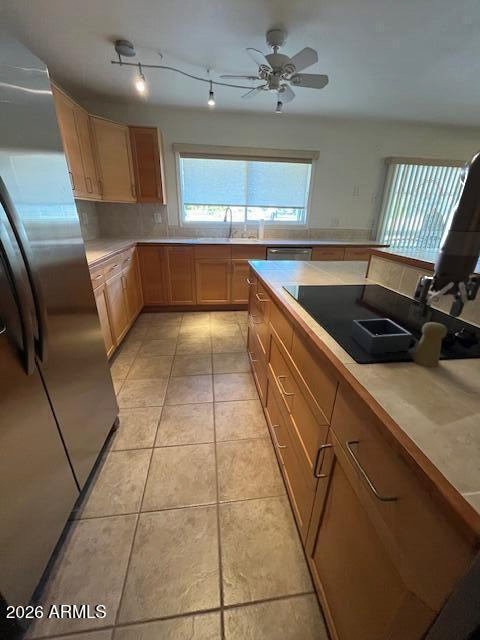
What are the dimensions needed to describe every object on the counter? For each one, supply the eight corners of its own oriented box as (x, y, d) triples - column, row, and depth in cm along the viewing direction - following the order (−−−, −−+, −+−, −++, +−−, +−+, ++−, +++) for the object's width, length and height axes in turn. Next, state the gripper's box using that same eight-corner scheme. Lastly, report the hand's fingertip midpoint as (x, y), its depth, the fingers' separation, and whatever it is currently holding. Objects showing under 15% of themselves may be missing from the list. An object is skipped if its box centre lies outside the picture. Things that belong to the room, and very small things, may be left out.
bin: (383, 333, 86) (387, 318, 84) (407, 351, 76) (412, 334, 73) (350, 336, 85) (352, 320, 83) (369, 354, 75) (373, 337, 73)
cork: (406, 357, 73) (416, 321, 68) (423, 353, 75) (433, 318, 70) (426, 369, 68) (438, 330, 63) (444, 364, 69) (456, 327, 65)
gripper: (443, 255, 55) (422, 324, 62) (504, 253, 56) (477, 321, 63) (417, 249, 62) (401, 312, 69) (472, 248, 63) (451, 310, 70)
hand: (438, 316), depth 66 cm, fingers open, 8 cm apart
